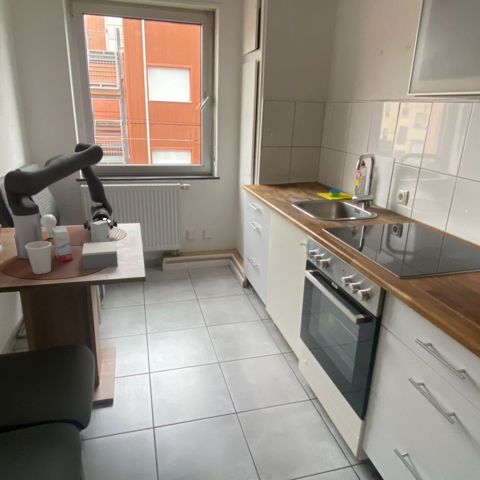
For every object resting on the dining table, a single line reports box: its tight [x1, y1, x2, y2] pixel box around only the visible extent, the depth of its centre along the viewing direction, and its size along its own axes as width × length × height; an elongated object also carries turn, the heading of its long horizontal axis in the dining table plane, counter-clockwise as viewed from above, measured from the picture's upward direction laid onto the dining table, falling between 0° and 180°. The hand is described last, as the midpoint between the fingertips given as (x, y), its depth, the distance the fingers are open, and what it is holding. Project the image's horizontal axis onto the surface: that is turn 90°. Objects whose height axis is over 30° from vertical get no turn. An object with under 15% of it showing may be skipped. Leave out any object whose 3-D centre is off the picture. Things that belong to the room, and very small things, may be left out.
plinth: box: [81, 240, 119, 270], centre depth 146 cm, size 12×12×6 cm
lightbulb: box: [40, 213, 57, 239], centre depth 170 cm, size 6×6×11 cm
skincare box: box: [90, 220, 111, 243], centre depth 157 cm, size 6×4×12 cm
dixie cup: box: [25, 240, 53, 275], centre depth 135 cm, size 8×8×10 cm
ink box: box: [52, 225, 73, 262], centre depth 148 cm, size 9×5×12 cm, turn 33°
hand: (100, 228), depth 167 cm, fingers open, 8 cm apart
